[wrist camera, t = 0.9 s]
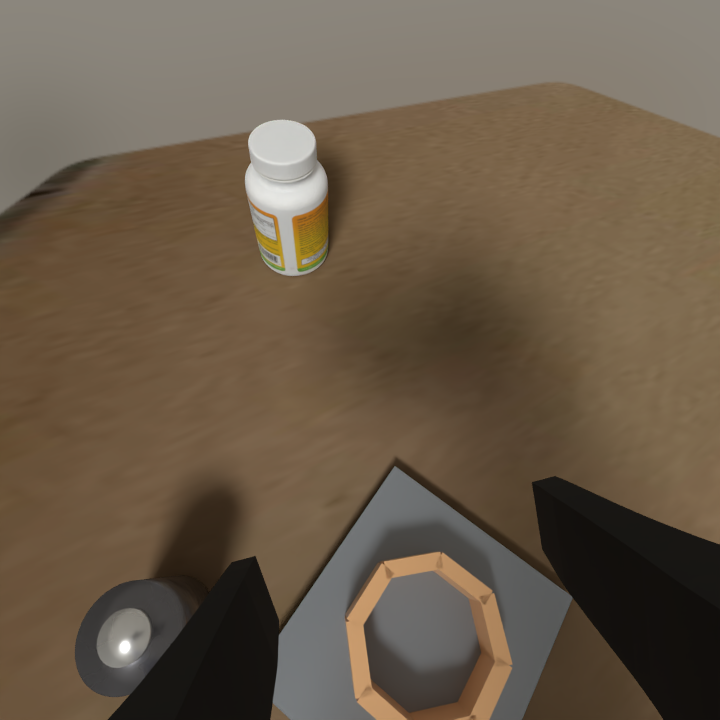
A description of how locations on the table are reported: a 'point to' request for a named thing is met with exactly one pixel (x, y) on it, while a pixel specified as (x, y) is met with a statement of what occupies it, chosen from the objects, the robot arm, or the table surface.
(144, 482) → the table surface
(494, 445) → the table surface
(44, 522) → the table surface
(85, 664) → the cell
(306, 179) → the supplement bottle
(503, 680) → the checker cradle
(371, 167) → the table surface
